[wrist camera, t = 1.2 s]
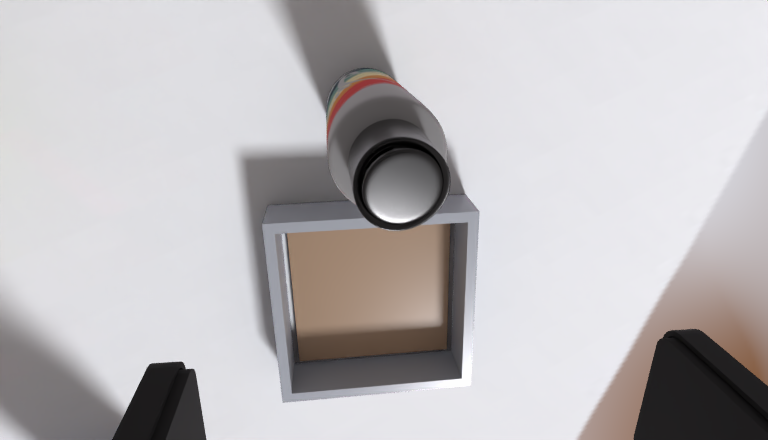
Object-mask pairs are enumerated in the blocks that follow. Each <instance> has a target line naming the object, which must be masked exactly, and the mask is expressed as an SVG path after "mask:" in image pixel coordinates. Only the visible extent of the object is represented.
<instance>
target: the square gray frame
mask: <svg viewBox="0 0 768 440" xmlns="http://www.w3.org/2000/svg"><path fill="white" fill-rule="evenodd" d="M450 223H455V233H454V265H453V298H452V330H451V350H446V351H434V352H422V353H410V354H398V355H386V356H374V357H362V358H350V359H338V360H326V361H314V362H302V363H295V362H294V352H293V343H292V333H291V323H290V313H289V304H288V294H287V284H286V274H285V265H284V255H283V245H282V235H281V234H283V233H287V238H288V248H289V258H290V269H291V279H292V289H293V299H294V309H295V320H296V330H297V340H298V350H299V360H300V361H311V360H323V359H335V358H347V357H359V356H371V355H383V354H395V353H407V352H419V351H431V350H443V349H447V324H448V287H449V250H450ZM262 229H263V237H264V246H265V255H266V263H267V272H268V280H269V289H270V298H271V306H272V315H273V323H274V332H275V340H276V349H277V358H278V366H279V375H280V383H281V392H282V400H283V403H284V402H295V401H306V400H317V399H328V398H339V397H350V396H361V395H373V394H384V393H395V392H406V391H417V390H428V389H439V388H450V387H461V386H471V372H472V352H473V331H474V311H475V290H476V270H477V250H478V229H479V210H478V209H477V208H476V207H475V205H474V204H473V203H472V202H471V200H470V199H469V198H468V197H467V196H466V194H461V195H448V196H447V199H446V200H445V202H444V204H443V206H442V207H441V208H440V210H439V211H438V212H437V213H436V214H435V215H434V216H433V217H432V218H430V219H429V220H428V221H426V222H425V223H423V224H421V225H419V226H417V227H414V228H412V229H408V230H403V231H388V230H384V229H381V228H378V227H376V226H374V225H373V224H371V223H370V222H369V221H367V220H366V219H365V218H364V217H363V215H362V214H361V213H360V211H359V209H358V207H357V205H356V204H354V203H353V202H351V201H335V202H316V203H298V204H280V205H268V206H267V210H266V213H265V216H264V219H263V222H262Z"/></svg>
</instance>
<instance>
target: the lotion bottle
mask: <svg viewBox="0 0 768 440" xmlns="http://www.w3.org/2000/svg"><path fill="white" fill-rule="evenodd" d="M326 120H327V158H328V165H329V170H330V173H331V176H332V178H333V180H334V182H335V184H336V186H337V187H338V189H339V190H340V191H341V192H342V194H343V195H344V196H345V197H346V198H347V199H349V200H350V201H351V202H353V203H354V204H356V205H357V207H358V209H359V211H360V213H361V214H362V215H363V217H364V218H365V219H366V220H367V221H369V222H370V223H371V224H373V225H374V226H376V227H378V228H381V229H384V230H388V231H403V230H408V229H412V228H414V227H417V226H419V225H421V224H423V223H425V222H426V221H428V220H429V219H430V218H432V217H433V216H434V215H435V214H436V213H437V212H438V211H439V210H440V208H441V207H442V206H443V204H444V202H445V200H446V199H447V196H448V193H449V190H450V182H451V180H450V172H449V168H448V166H447V163H446V161H447V144H446V139H445V135H444V132H443V130H442V127H441V125H440V124H439V122H438V120H437V119H436V117H435V116H434V115H433V114H432V113H431V112H430V111H429V110H428V109H427V108H426V107H425V106H424V105H423V104H422V103H421V102H420V101H419V100H417V99H416V98H415V97H414V96H413V95H412V94H410V93H409V92H408V91H407V90H406V89H404V88H403V87H402V86H401V85H400V84H399V83H397V82H396V81H395V80H394V79H393V78H391V77H390V76H388V75H387V74H385V73H383V72H381V71H379V70H376V69H370V68H361V69H356V70H353V71H350V72H348V73H346V74H345V75H343V76H342V77H341V78H339V79H338V80H337V82H336V83H335V84H334V86H333V87H332V89H331V91H330V93H329V96H328V100H327V108H326Z"/></svg>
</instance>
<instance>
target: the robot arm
mask: <svg viewBox="0 0 768 440" xmlns="http://www.w3.org/2000/svg"><path fill="white" fill-rule="evenodd" d="M112 440H206V435H205V429H204V422H203V416H202V410H201V404H200V397H199V391H198V385H197V379H196V373H195V371H194V369H185V365H184V363H183V362H168V363H152V364H150V365H149V366H148V368H147V369H146V371H145V373H144V376H143V378H142V380H141V382H140V384H139V386H138V388H137V390H136V392H135V394H134V396H133V398H132V400H131V402H130V404H129V406H128V408H127V410H126V413H125V415H124V417H123V419H122V421H121V423H120V425H119V427H118V429H117V431H116V433H115V435H114V437H113V439H112ZM634 440H768V386H767V385H766V384H764V383H763V382H762V381H761V380H760V379H758V378H757V377H756V376H755V375H754V374H753V373H751V372H750V371H749V370H748V369H747V368H745V367H744V366H743V365H742V364H741V363H739V362H738V361H737V360H736V359H735V358H733V357H732V356H731V355H730V354H729V353H727V352H726V351H725V350H724V349H723V348H721V347H720V346H719V345H718V344H717V343H715V342H714V341H713V340H712V339H710V337H708V336H707V335H706V334H705V333H703V332H702V331H700V330H697V329H687V330H672V331H668V332H666V334H665V335H664V337H663V338H662V339H660V340H659V341H658V342H657V345H656V350H655V353H654V357H653V361H652V366H651V369H650V373H649V377H648V382H647V386H646V389H645V393H644V397H643V402H642V406H641V409H640V413H639V418H638V422H637V426H636V430H635V434H634Z"/></svg>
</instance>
